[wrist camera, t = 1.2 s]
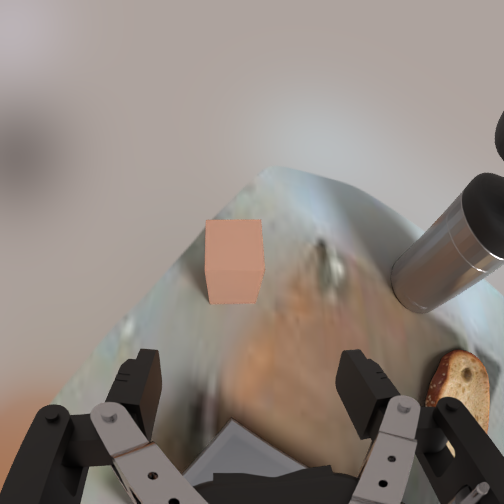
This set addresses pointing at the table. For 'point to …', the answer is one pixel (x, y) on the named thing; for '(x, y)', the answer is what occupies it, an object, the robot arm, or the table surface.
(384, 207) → the table surface
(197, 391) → the table surface
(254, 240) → the salmon pink block
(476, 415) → the slice of bread
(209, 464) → the charcoal bin
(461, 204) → the robot arm
